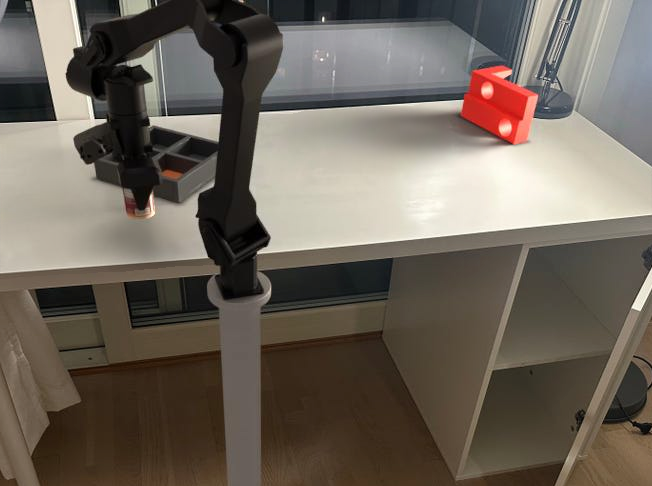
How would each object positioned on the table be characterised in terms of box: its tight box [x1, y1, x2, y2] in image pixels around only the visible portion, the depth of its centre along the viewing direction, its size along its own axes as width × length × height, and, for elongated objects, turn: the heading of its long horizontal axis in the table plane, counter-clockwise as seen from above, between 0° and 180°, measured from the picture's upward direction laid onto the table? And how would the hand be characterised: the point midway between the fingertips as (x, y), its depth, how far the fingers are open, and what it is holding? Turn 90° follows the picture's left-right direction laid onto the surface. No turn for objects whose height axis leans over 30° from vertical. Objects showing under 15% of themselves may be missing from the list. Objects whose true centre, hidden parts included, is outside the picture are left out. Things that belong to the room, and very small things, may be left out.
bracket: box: [460, 65, 539, 145], centre depth 160 cm, size 18×10×10 cm
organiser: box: [93, 125, 218, 204], centre depth 137 cm, size 19×19×4 cm
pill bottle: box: [122, 188, 156, 221], centre depth 114 cm, size 5×5×8 cm
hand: (139, 202), depth 116 cm, fingers closed on pill bottle, 5 cm apart
